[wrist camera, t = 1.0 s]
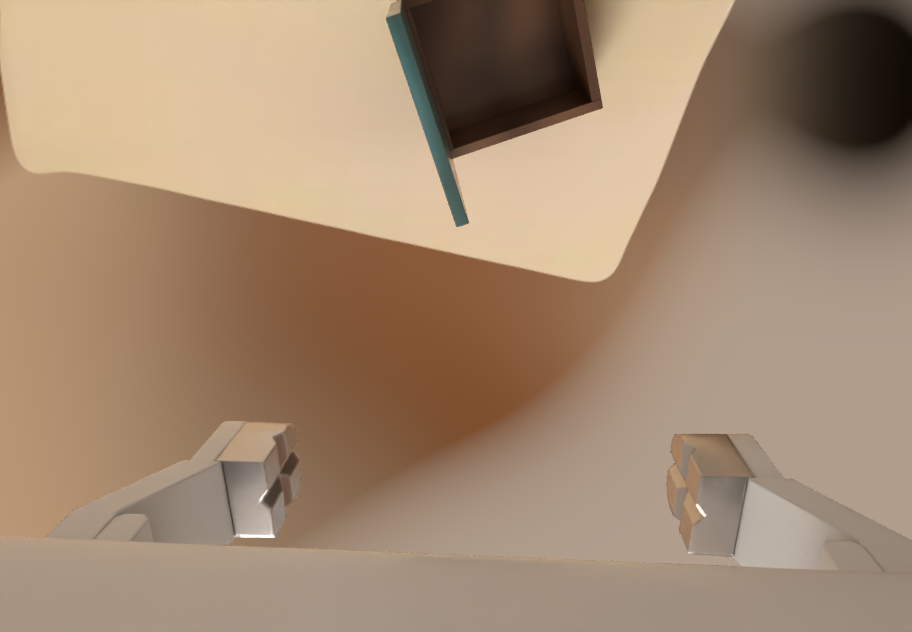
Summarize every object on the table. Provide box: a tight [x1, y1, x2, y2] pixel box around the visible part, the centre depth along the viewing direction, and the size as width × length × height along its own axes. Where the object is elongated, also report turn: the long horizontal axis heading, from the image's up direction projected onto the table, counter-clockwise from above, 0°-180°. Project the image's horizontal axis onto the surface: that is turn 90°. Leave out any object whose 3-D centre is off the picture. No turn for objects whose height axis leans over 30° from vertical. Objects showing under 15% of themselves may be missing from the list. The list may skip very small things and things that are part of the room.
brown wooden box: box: [397, 0, 603, 158], centre depth 50 cm, size 14×13×7 cm
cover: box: [386, 0, 469, 227], centre depth 41 cm, size 14×13×1 cm
